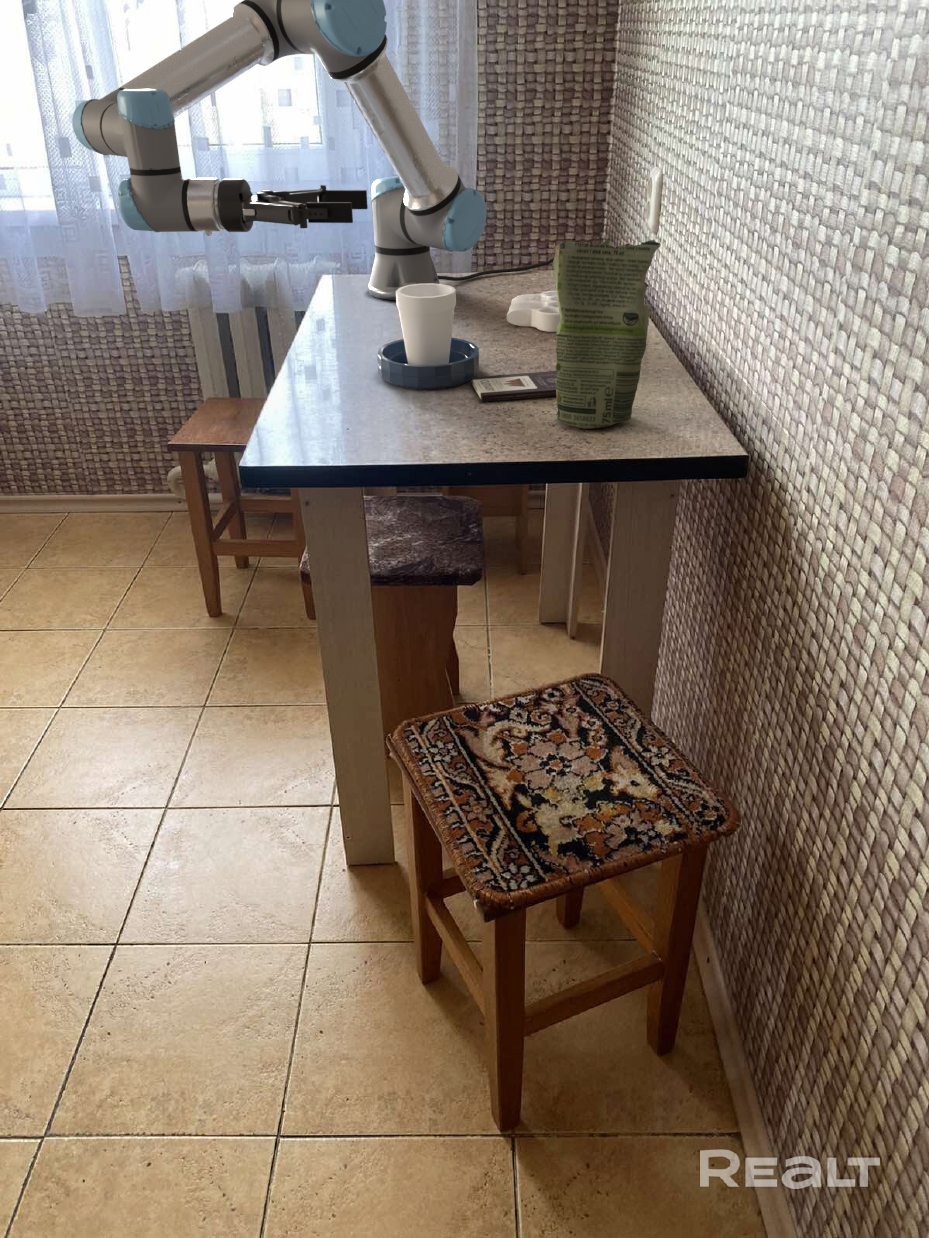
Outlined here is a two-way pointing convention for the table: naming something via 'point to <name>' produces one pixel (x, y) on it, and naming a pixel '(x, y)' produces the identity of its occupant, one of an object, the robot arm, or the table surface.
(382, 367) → the bowl
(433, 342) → the foam cup
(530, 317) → the white brass knuckles
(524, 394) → the chocolate bar
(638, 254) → the pouch
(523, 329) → the table surface
